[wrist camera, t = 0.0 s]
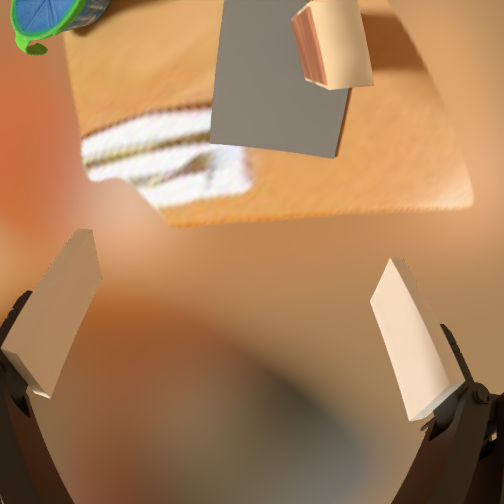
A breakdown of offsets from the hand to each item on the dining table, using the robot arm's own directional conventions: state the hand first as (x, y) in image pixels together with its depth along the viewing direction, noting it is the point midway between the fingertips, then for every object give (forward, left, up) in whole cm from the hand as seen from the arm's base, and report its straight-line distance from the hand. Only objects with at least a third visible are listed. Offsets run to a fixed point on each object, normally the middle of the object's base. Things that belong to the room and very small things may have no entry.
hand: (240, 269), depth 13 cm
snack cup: (-17, -22, -28) cm, 40 cm away
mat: (-7, +4, -28) cm, 29 cm away
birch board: (-11, +7, -27) cm, 30 cm away
